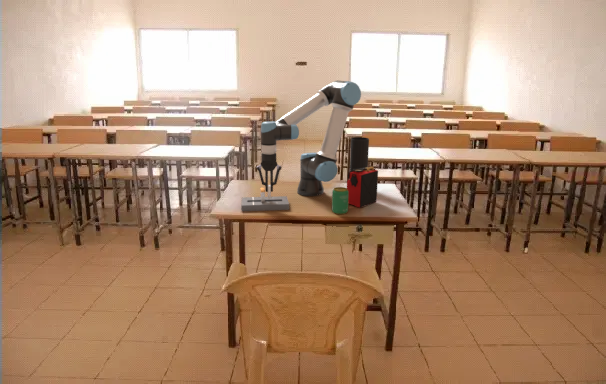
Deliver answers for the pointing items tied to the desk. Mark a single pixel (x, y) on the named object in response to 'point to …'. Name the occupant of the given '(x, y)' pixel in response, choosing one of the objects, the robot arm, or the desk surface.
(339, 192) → the beverage can
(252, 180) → the desk surface
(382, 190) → the desk surface
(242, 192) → the desk surface
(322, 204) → the desk surface
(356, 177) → the radio
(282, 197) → the console
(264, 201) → the fader
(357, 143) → the vase
